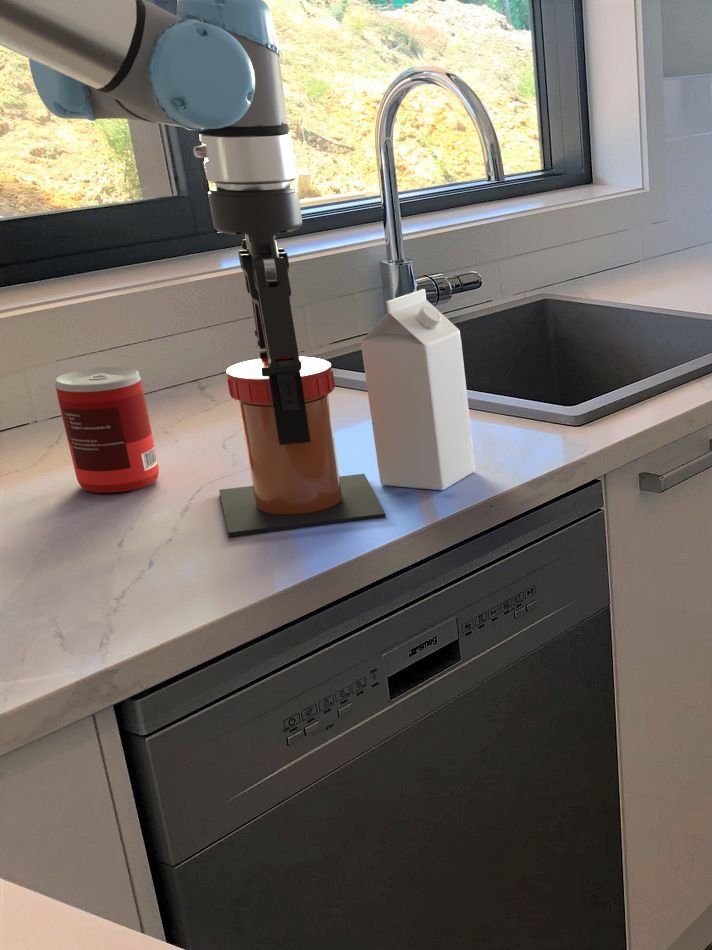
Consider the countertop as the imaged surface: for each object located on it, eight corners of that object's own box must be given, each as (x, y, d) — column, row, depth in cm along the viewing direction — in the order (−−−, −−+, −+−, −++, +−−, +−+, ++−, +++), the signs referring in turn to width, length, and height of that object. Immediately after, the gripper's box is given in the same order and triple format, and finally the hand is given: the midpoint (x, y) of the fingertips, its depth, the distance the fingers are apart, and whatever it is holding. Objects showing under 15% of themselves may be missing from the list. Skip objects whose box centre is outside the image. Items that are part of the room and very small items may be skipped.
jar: (259, 518, 132) (237, 388, 127) (252, 494, 138) (231, 369, 133) (347, 508, 135) (330, 380, 130) (337, 484, 141) (319, 362, 136)
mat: (228, 537, 128) (227, 532, 128) (219, 494, 140) (219, 489, 139) (386, 518, 134) (385, 513, 134) (365, 478, 145) (364, 473, 145)
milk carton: (380, 486, 143) (354, 299, 135) (415, 467, 149) (392, 287, 141) (442, 492, 141) (420, 303, 134) (476, 472, 148) (456, 290, 140)
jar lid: (328, 376, 138) (325, 353, 137) (340, 398, 130) (336, 374, 129) (227, 384, 134) (223, 360, 133) (232, 407, 126) (228, 382, 125)
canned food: (148, 466, 148) (127, 363, 143) (171, 484, 142) (149, 377, 138) (69, 479, 143) (44, 374, 139) (89, 498, 138) (64, 389, 133)
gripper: (200, 173, 132) (239, 406, 141) (213, 200, 114) (256, 464, 123) (285, 171, 135) (317, 399, 144) (310, 196, 117) (345, 455, 126)
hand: (289, 429), depth 134 cm, fingers closed on jar lid, 9 cm apart
